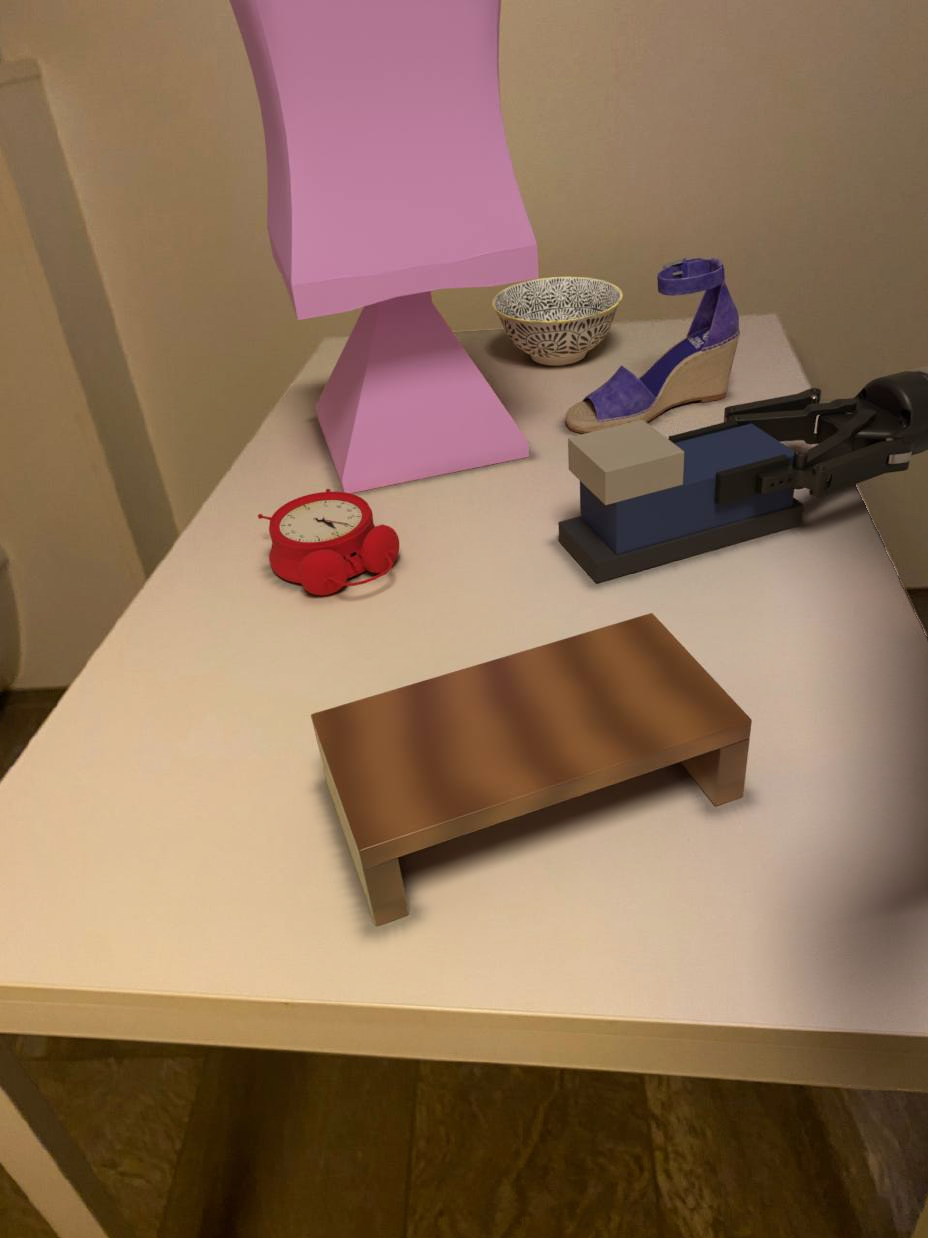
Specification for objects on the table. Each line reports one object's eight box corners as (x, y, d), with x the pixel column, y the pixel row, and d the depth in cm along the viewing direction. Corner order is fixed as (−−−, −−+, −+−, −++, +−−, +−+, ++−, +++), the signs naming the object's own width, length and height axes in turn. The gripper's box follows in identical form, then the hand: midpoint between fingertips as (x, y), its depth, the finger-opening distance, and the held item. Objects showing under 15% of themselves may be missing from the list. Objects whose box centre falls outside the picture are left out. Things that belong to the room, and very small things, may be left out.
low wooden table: (649, 685, 69) (652, 612, 66) (743, 797, 60) (752, 719, 56) (328, 786, 64) (310, 713, 60) (375, 927, 55) (358, 851, 51)
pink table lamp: (486, 382, 117) (451, -72, 90) (546, 459, 99) (524, -77, 73) (305, 416, 113) (212, -45, 87) (333, 503, 96) (228, -44, 69)
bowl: (628, 375, 115) (629, 313, 110) (496, 385, 116) (491, 323, 112) (615, 329, 128) (615, 271, 123) (496, 338, 129) (492, 281, 124)
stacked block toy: (752, 488, 91) (762, 387, 85) (801, 524, 85) (816, 419, 79) (558, 540, 86) (555, 438, 80) (596, 583, 80) (595, 476, 74)
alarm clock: (338, 476, 92) (413, 501, 80) (355, 536, 95) (430, 569, 83) (238, 513, 88) (301, 545, 76) (259, 575, 91) (323, 616, 78)
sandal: (555, 409, 109) (550, 275, 100) (721, 382, 111) (731, 248, 102) (574, 439, 102) (571, 298, 94) (751, 410, 104) (765, 269, 95)
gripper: (990, 494, 82) (755, 563, 77) (839, 410, 97) (636, 462, 92) (1011, 412, 77) (764, 479, 72) (850, 337, 93) (637, 388, 88)
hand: (693, 469), depth 82 cm, fingers closed on stacked block toy, 7 cm apart
